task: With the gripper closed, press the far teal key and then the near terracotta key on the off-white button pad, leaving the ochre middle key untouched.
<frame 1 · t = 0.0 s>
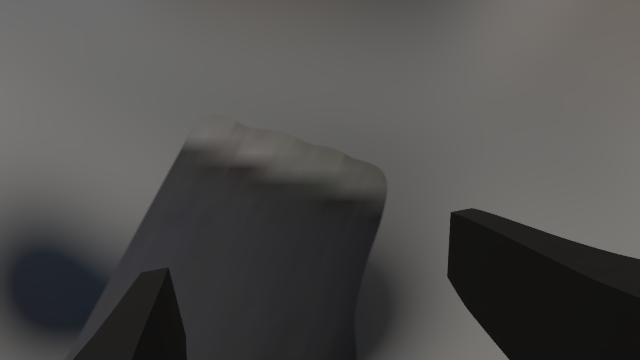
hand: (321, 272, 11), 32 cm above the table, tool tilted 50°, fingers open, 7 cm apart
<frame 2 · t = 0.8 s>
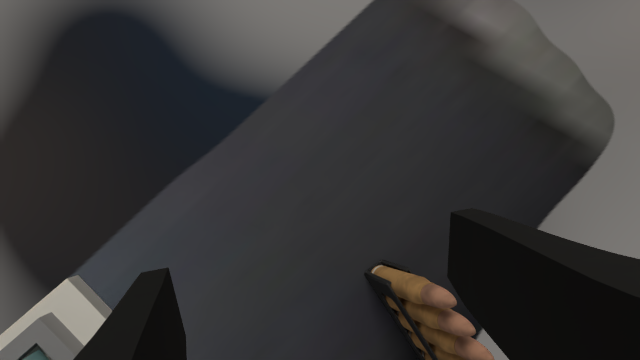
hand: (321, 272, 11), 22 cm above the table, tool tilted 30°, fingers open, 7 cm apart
ammunition clip: (410, 323, 34), on the table
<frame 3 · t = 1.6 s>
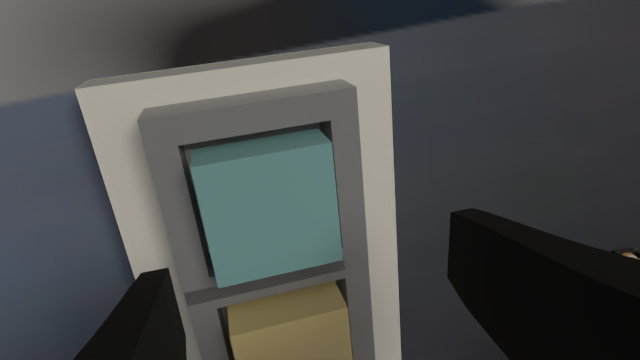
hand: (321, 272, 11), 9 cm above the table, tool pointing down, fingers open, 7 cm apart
teal key: (269, 206, 15), point 4 cm above the table, slide at 0.0 cm
button pad: (276, 289, 22), on the table
ochre key: (293, 350, 18), point 4 cm above the table, slide at 0.0 cm
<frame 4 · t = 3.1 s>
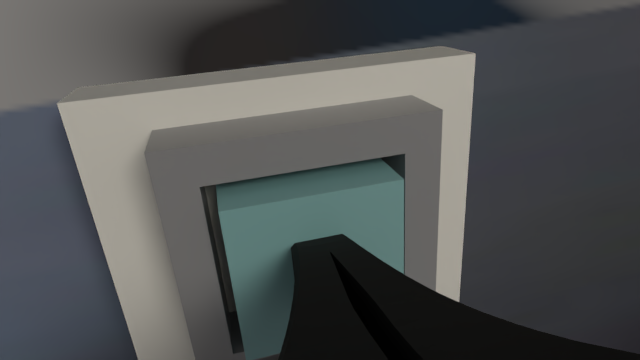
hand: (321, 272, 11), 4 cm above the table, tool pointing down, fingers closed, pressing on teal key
teal key: (313, 255, 12), point 4 cm above the table, slide at 0.6 cm, touching gripper
button pad: (305, 344, 18), on the table
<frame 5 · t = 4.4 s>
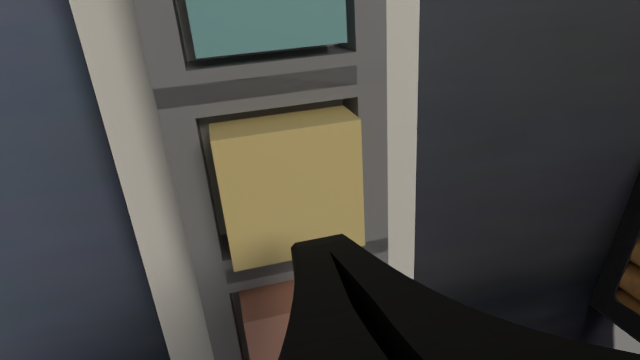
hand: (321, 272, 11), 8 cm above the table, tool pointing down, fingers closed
button pad: (271, 145, 18), on the table
terracotta key: (306, 338, 17), point 4 cm above the table, slide at 0.0 cm
ochre key: (289, 186, 14), point 4 cm above the table, slide at 0.0 cm
ammunition clip: (627, 226, 26), on the table
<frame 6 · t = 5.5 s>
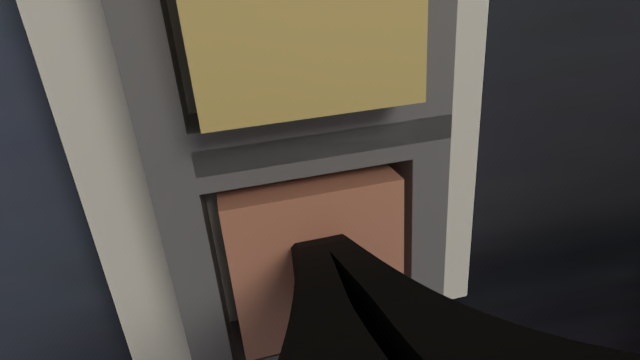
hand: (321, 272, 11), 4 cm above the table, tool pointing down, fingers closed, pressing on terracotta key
terracotta key: (313, 255, 12), point 3 cm above the table, slide at 1.0 cm, touching gripper
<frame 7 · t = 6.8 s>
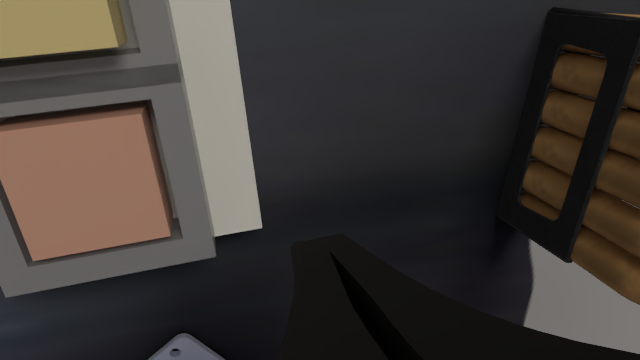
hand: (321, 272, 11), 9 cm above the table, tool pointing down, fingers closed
terracotta key: (91, 179, 15), point 3 cm above the table, slide at 1.0 cm
ammunition clip: (532, 120, 23), on the table
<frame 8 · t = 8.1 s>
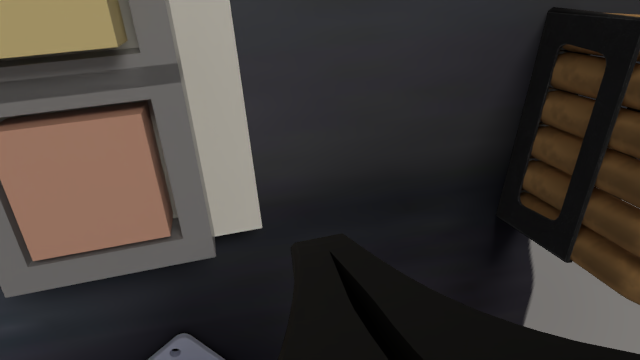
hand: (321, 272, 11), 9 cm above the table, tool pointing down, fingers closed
terracotta key: (91, 179, 15), point 3 cm above the table, slide at 1.0 cm
ammunition clip: (532, 120, 23), on the table
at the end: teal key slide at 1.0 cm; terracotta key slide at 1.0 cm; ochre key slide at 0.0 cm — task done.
